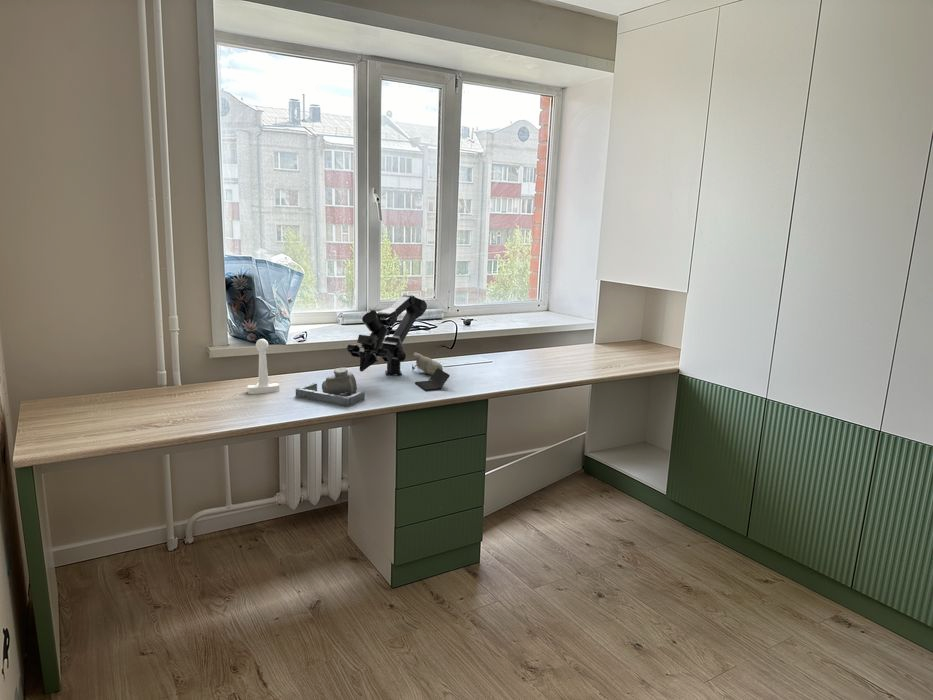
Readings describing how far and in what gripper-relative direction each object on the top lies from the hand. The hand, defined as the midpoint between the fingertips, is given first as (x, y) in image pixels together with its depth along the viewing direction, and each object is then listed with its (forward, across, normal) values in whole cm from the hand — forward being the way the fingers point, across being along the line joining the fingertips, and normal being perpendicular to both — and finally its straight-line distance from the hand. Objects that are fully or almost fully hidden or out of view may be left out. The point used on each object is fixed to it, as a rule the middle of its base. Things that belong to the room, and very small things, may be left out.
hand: (360, 370), depth 243 cm
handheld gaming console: (-6, +23, +16) cm, 29 cm away
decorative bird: (-17, +12, +27) cm, 35 cm away
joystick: (+21, -27, -13) cm, 37 cm away
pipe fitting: (+14, 0, -5) cm, 15 cm away
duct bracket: (+18, 0, -9) cm, 20 cm away
